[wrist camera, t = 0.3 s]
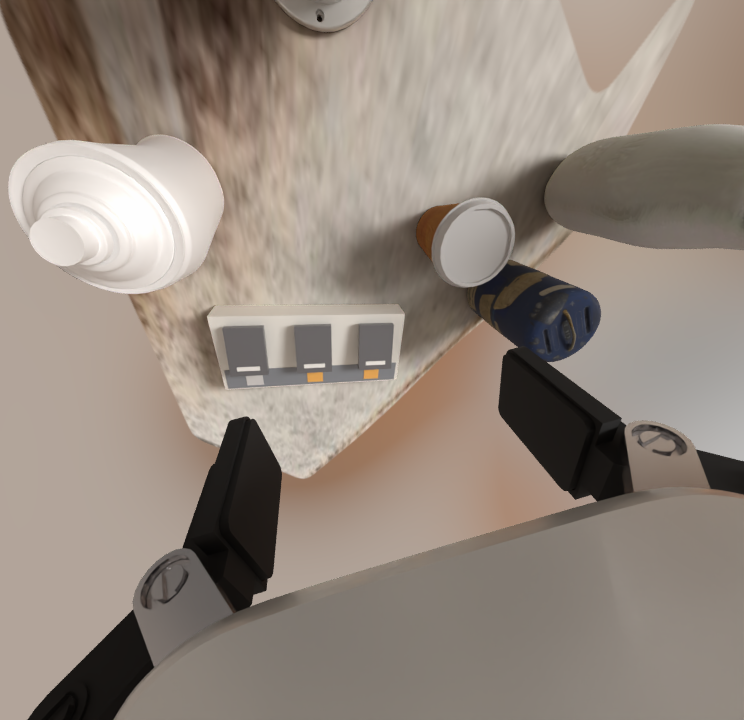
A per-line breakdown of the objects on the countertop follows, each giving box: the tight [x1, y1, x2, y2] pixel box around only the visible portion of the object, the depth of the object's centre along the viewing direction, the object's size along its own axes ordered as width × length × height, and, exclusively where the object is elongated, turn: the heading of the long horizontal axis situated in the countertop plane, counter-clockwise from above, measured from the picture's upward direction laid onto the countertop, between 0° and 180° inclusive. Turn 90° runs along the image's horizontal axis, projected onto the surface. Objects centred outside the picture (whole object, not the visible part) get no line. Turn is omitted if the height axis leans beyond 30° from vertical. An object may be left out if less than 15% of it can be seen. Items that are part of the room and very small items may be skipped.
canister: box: [467, 260, 601, 362], centre depth 40 cm, size 10×10×18 cm
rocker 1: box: [222, 325, 269, 377], centre depth 40 cm, size 7×5×1 cm
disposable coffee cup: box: [416, 197, 515, 287], centre depth 37 cm, size 10×10×12 cm
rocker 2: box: [358, 323, 394, 370], centre depth 43 cm, size 7×5×1 cm
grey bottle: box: [544, 124, 744, 250], centre depth 30 cm, size 10×10×28 cm
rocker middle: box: [294, 324, 332, 373], centre depth 42 cm, size 7×5×1 cm
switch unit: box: [207, 304, 405, 390], centre depth 45 cm, size 12×27×5 cm, turn 86°
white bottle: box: [8, 135, 224, 294], centre depth 24 cm, size 12×11×25 cm
